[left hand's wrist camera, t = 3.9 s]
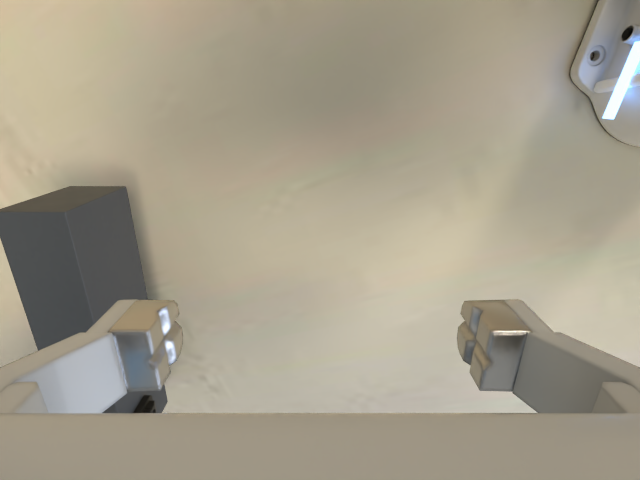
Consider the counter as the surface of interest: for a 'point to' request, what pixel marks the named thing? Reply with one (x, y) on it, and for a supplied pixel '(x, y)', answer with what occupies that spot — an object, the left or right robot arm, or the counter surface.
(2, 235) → the bar
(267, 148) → the counter surface
